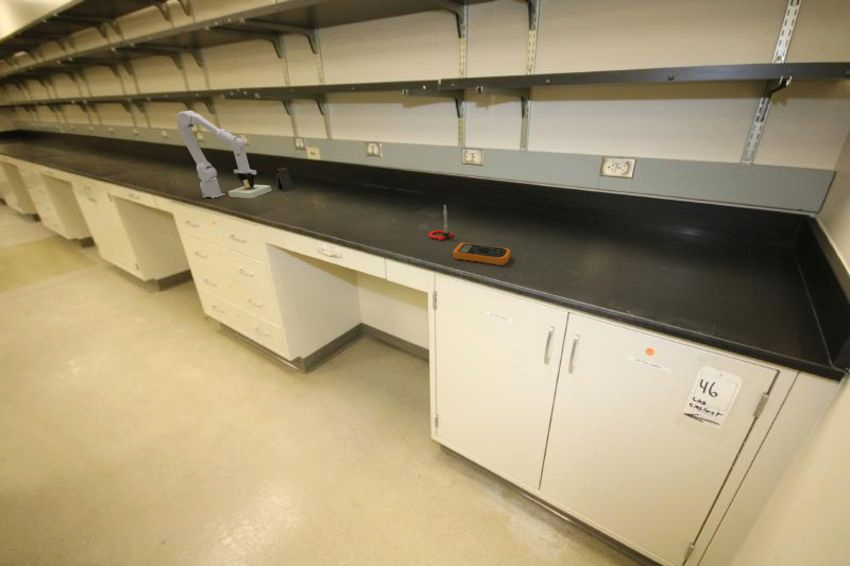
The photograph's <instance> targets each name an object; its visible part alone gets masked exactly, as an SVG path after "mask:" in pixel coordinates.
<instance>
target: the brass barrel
mask: <svg viewBox="0 0 850 566" xmlns="http://www.w3.org/2000/svg"><path fill="white" fill-rule="evenodd" d="M243 183H244V185H243V186H245V189H246V190H251V189H253V187H250V185H249V182H248V180H247V179H243Z"/></svg>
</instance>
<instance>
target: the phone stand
mask: <svg viewBox="0 0 850 566" xmlns="http://www.w3.org/2000/svg"><path fill="white" fill-rule="evenodd" d="M275 175H276V189H277V190H278V189H279V191H282V190H283V192H288V190H289V191H291V189H293V190H295V186H294V185H293V181H292V178H291V176H290V174H289V170H288V168H287V167H286V166H285V167H282V168H281V167H280V168H276V169H275Z"/></svg>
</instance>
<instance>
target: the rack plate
mask: <svg viewBox="0 0 850 566" xmlns="http://www.w3.org/2000/svg"><path fill="white" fill-rule="evenodd" d="M272 190H273V189H272V186H271V185H265V184H254V187H253V189H251V190H246V189H245V187H244V185H242V186H240V187H237V188H234V189H231V190H229V191H228V192H227V193H228V196H229V198H238V197H239V198H241V199H250V198H251V199H253V198H257V197H259V195H260V196H262V195H265V194H267V192H268V193H270V192H272ZM251 199H250V200H251Z"/></svg>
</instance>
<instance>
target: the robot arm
mask: <svg viewBox="0 0 850 566" xmlns="http://www.w3.org/2000/svg"><path fill="white" fill-rule="evenodd" d="M175 119H176V121H177V131H178V133H179V135H180V136H181V139H182V140H183V143H184V144H185V146H186V147H187V149H188V151H189V153H190V155H191V156H192V158H193V160H194V162H195V163H196V171H197V176H198V178H199V179H200V180H201V181H200V183H199V187H200V190H201V194H202V196H201V197H202V198H206V197H211V198H210V199H216V198H219V197H221V196H225V195H226V193H222V190H221V187H220V184H219V181H218V178H217V176H218V172H217V169H216V168H215V167H214V166H213V165H212V164H211V162H209V161H208V160H207V158H206V156H205V154H204V153H203V151H202V150H201V147H200V146H199V143H198V141H197V139H196V138H195V136H194V135H193V132H192V130H193V128H194V126H201V127H202V128H204V129H206V130H208V131H210V132H211V133H213V135H214V134H215V135H216V138H217V139H218V140H219V141H221V142H223V143H225V144H226V145H228V146H229V147H230V149H231V150H232V151H233V154H234V158H235V161H236V166H237V169H233V173H234V174H236V177H237V179H239V181H240V182H241V184H242V186H244V183H243V179H247V180H248V182H249V185H250V187H254V185H255V177H256V175H257V173H258V172H257V170H256V169H255V170H254V169H251V168H250V164H249V160H248V156H247V153H246V149H245V147H246V146H245V145H246V143H245V141H244V140H243V139H242V138H241V137H237V136H236V135H234V134H232V133H230V132H229V130H227V129H226V128H225V129H224V128H219V127H218V126H216V125H214V124H212V123H211V122H210V121H208V119H206V118H205V117H203V116H202V115H201V114H199V113H197V112H196V111H194V110H191V109H190V110H186V111H179V112H178V113H177V115H176V117H175ZM244 187H245V186H244ZM215 197H216V198H215Z"/></svg>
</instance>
